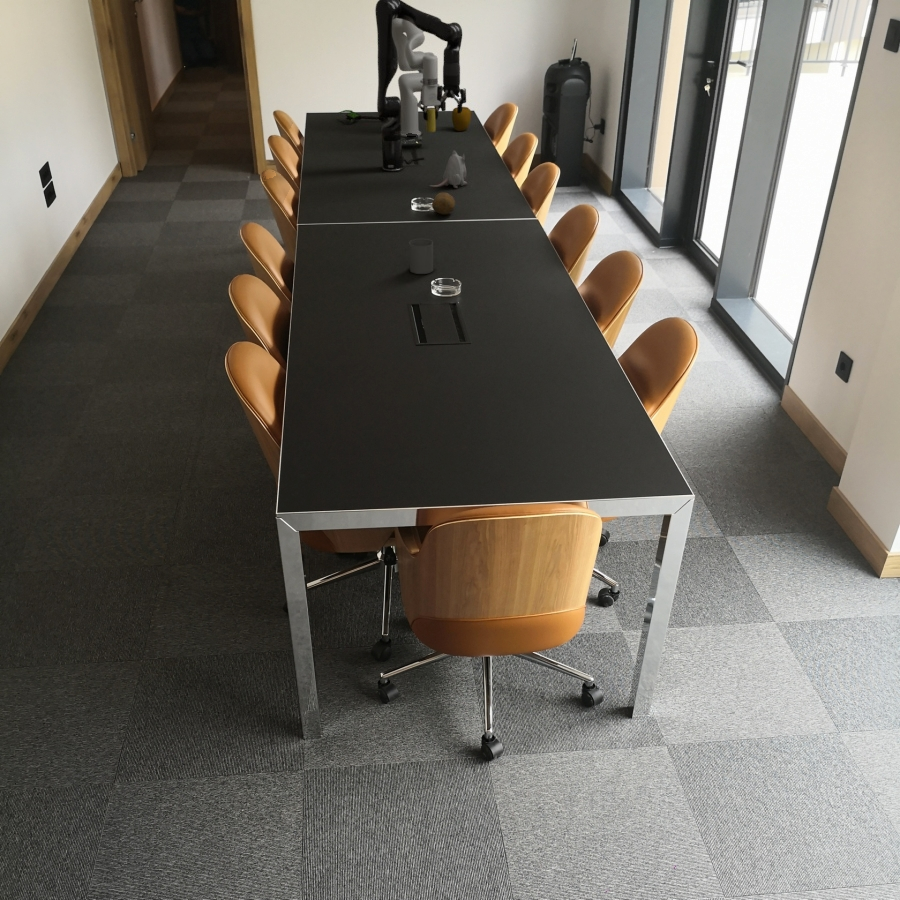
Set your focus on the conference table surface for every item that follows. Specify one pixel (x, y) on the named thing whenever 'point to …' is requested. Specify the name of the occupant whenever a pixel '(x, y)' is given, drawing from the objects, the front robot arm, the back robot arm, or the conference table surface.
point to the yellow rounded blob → (461, 119)
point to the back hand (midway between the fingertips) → (430, 119)
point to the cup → (421, 256)
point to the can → (430, 120)
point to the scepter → (358, 117)
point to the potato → (443, 203)
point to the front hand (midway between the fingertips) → (451, 112)
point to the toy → (454, 171)
